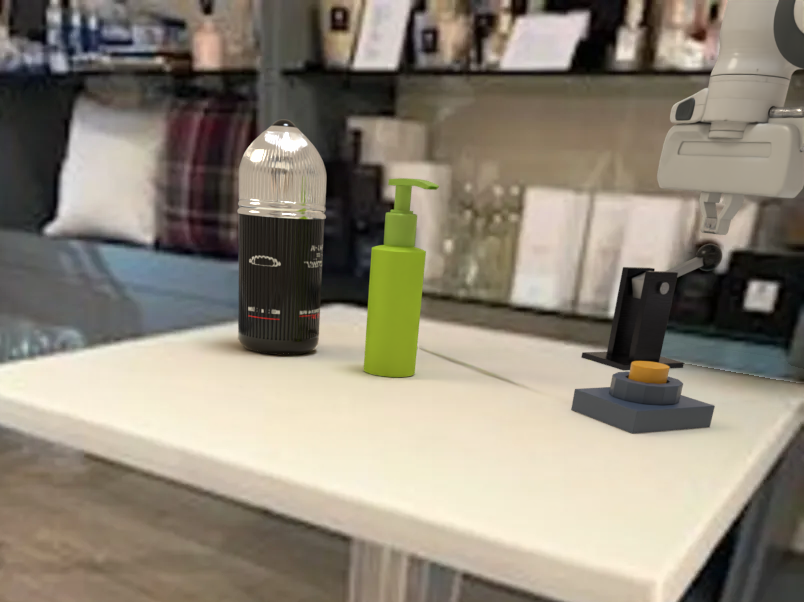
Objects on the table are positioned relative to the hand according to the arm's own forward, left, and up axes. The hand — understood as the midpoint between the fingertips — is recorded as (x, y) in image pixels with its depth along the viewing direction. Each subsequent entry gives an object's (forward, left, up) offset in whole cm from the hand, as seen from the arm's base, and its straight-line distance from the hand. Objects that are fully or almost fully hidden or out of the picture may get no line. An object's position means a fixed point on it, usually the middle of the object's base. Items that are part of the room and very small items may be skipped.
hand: (713, 233), depth 110 cm
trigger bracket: (+9, 0, -16) cm, 19 cm away
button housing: (+28, +22, -16) cm, 39 cm away
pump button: (+28, +22, -13) cm, 38 cm away
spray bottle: (+51, -17, -16) cm, 57 cm away
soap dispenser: (+43, -2, -16) cm, 46 cm away
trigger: (+4, 0, -6) cm, 7 cm away
